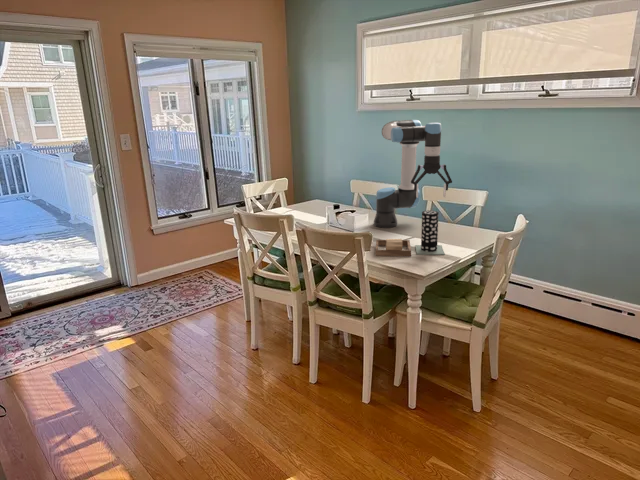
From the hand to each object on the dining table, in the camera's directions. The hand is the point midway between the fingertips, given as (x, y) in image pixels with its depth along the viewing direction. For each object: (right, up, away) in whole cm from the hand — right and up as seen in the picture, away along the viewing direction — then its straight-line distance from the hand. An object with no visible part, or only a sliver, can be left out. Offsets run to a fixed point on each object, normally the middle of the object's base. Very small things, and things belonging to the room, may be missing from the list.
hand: (430, 197), depth 227 cm
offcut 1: (-18, -25, +4) cm, 31 cm away
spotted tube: (+1, -27, +8) cm, 28 cm away
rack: (-18, -28, +10) cm, 34 cm away
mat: (+1, -27, +8) cm, 29 cm away
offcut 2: (-18, -27, +5) cm, 33 cm away
